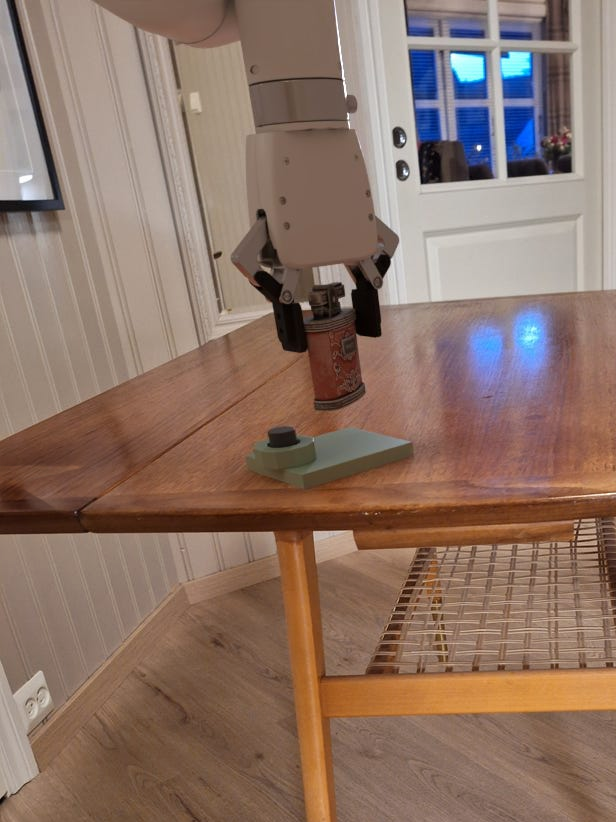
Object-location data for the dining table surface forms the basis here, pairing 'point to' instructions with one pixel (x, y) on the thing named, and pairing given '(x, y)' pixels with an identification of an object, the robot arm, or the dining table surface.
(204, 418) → the dining table surface
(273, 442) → the button
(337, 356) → the lighter
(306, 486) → the scale
